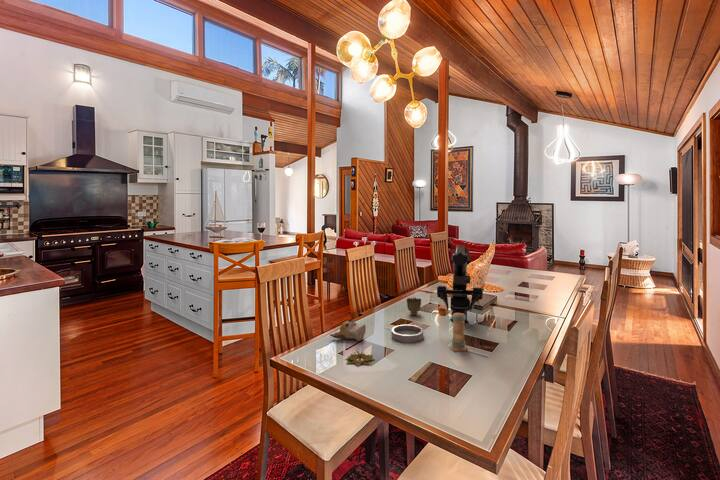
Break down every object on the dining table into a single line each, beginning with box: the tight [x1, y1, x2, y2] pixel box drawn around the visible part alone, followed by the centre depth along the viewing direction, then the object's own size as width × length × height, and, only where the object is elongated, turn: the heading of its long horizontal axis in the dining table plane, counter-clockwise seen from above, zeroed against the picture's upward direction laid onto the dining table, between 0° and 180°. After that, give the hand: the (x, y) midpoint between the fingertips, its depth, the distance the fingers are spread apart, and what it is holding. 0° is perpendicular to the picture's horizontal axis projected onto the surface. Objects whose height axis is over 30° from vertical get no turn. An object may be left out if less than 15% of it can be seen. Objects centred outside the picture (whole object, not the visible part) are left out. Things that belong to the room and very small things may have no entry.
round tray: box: [390, 324, 424, 344], centre depth 166 cm, size 14×14×3 cm
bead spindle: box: [449, 313, 468, 353], centre depth 152 cm, size 6×6×14 cm
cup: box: [406, 297, 422, 316], centre depth 196 cm, size 8×7×8 cm
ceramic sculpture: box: [329, 319, 367, 342], centre depth 165 cm, size 11×9×15 cm
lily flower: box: [345, 348, 375, 367], centre depth 144 cm, size 12×12×5 cm
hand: (459, 310), depth 159 cm, fingers open, 9 cm apart
